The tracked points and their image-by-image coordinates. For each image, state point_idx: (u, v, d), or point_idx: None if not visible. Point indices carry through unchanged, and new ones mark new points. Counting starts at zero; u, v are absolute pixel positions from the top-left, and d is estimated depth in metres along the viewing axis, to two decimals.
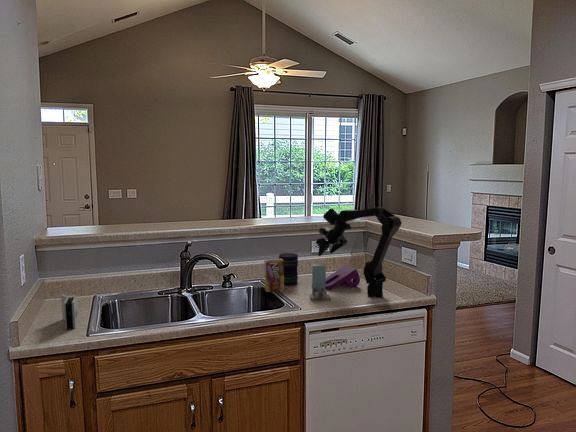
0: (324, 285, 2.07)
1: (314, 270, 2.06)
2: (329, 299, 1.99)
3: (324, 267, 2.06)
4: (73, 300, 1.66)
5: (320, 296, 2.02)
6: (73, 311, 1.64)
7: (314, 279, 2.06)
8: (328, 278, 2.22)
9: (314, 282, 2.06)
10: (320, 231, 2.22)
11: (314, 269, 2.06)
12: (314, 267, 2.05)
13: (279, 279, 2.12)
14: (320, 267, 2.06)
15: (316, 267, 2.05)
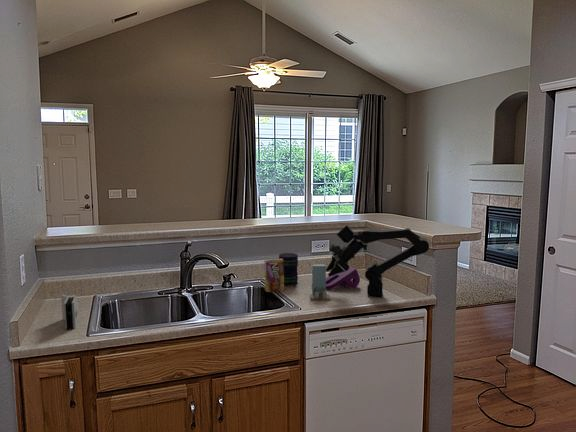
0: (324, 285, 2.07)
1: (314, 270, 2.06)
2: (329, 299, 1.99)
3: (324, 267, 2.06)
4: (73, 300, 1.66)
5: (320, 296, 2.02)
6: (73, 311, 1.64)
7: (314, 279, 2.06)
8: (328, 278, 2.22)
9: (314, 282, 2.06)
10: (335, 249, 2.02)
11: (314, 269, 2.06)
12: (314, 267, 2.05)
13: (279, 279, 2.12)
14: (320, 267, 2.06)
15: (316, 267, 2.05)
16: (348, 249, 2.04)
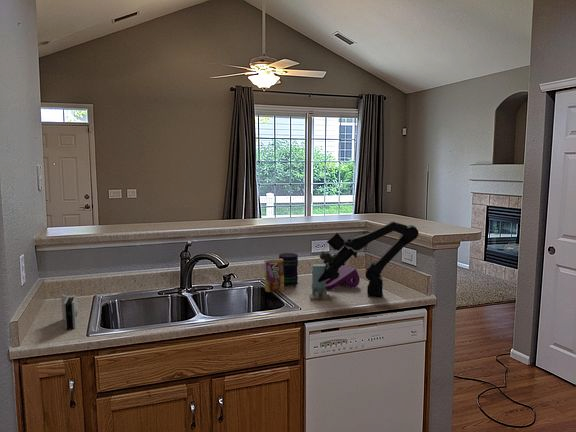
0: (324, 285, 2.07)
1: (314, 270, 2.06)
2: (329, 299, 1.99)
3: (324, 267, 2.06)
4: (73, 300, 1.66)
5: (320, 296, 2.02)
6: (73, 311, 1.64)
7: (314, 279, 2.06)
8: None
9: (314, 282, 2.06)
10: (326, 257, 2.02)
11: (314, 269, 2.06)
12: (314, 267, 2.05)
13: (279, 279, 2.12)
14: (320, 267, 2.06)
15: (316, 267, 2.05)
16: (338, 256, 2.04)
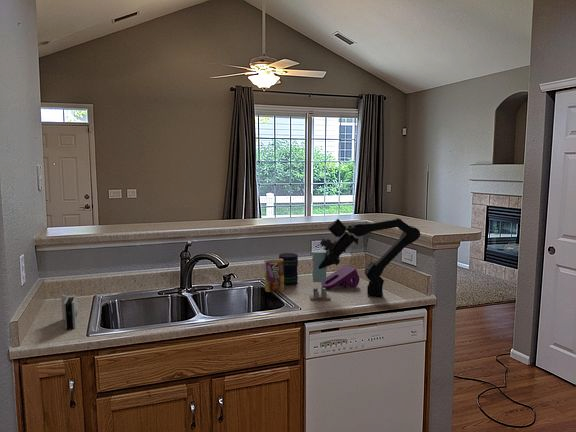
0: (325, 272, 2.04)
1: (314, 257, 2.03)
2: (329, 299, 1.99)
3: None
4: (73, 300, 1.66)
5: (320, 296, 2.02)
6: (73, 311, 1.64)
7: (314, 266, 2.03)
8: (328, 278, 2.22)
9: (314, 269, 2.03)
10: (326, 243, 1.99)
11: (314, 256, 2.03)
12: (314, 254, 2.03)
13: (279, 279, 2.12)
14: (320, 254, 2.03)
15: (316, 254, 2.03)
16: (339, 243, 2.01)
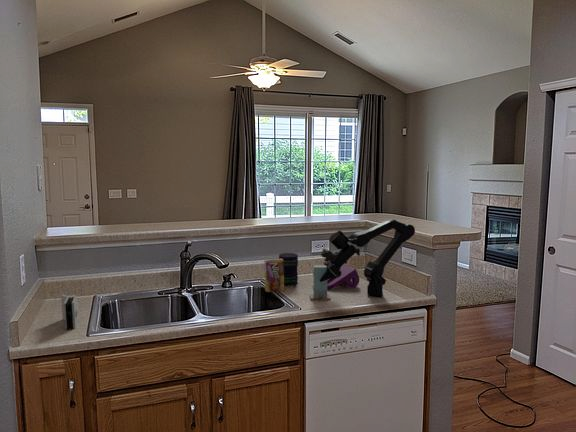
0: (326, 287, 2.00)
1: (315, 271, 1.99)
2: (329, 299, 1.99)
3: None
4: (73, 300, 1.66)
5: None
6: (73, 311, 1.64)
7: (315, 281, 1.99)
8: None
9: (315, 284, 1.99)
10: (327, 255, 1.95)
11: (315, 270, 1.99)
12: (315, 268, 1.99)
13: (279, 279, 2.12)
14: (321, 268, 1.99)
15: (317, 268, 1.99)
16: (340, 254, 1.97)
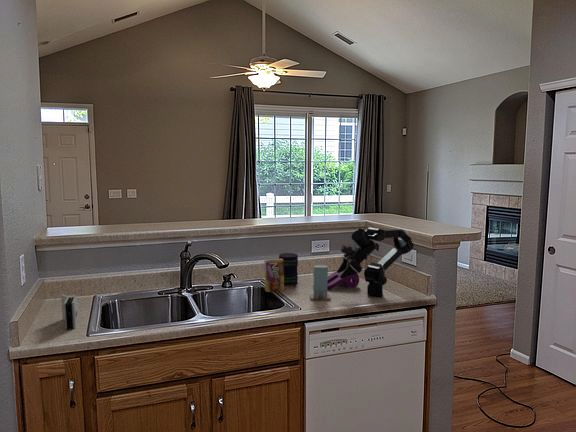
0: (326, 287, 2.00)
1: (315, 271, 1.99)
2: (329, 299, 1.99)
3: (326, 268, 1.99)
4: (73, 300, 1.66)
5: None
6: (73, 311, 1.64)
7: (315, 281, 1.99)
8: None
9: (315, 284, 1.99)
10: (347, 250, 1.95)
11: (315, 270, 1.99)
12: (315, 268, 1.99)
13: (279, 279, 2.12)
14: (322, 268, 1.99)
15: (318, 268, 1.99)
16: (360, 250, 1.98)
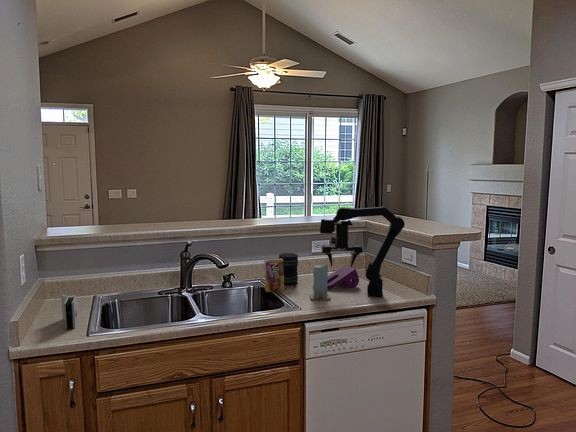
0: (326, 287, 2.00)
1: (315, 271, 1.99)
2: (329, 299, 1.99)
3: (326, 268, 1.99)
4: (73, 300, 1.66)
5: None
6: (73, 311, 1.64)
7: (315, 281, 1.99)
8: None
9: (315, 284, 1.99)
10: (331, 242, 2.12)
11: (315, 270, 1.99)
12: (315, 268, 1.99)
13: (279, 279, 2.12)
14: (322, 268, 1.99)
15: (318, 268, 1.99)
16: None
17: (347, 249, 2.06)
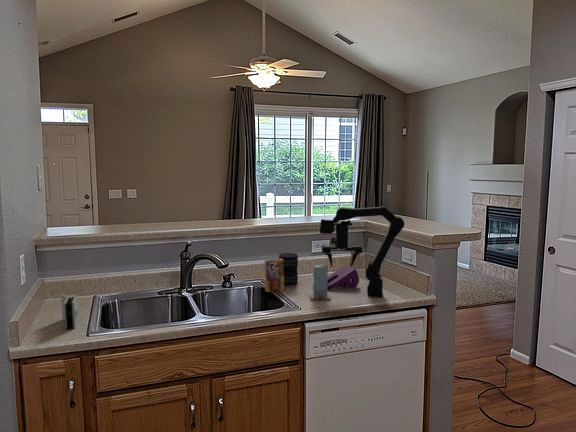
0: (326, 287, 2.00)
1: (315, 271, 1.99)
2: (329, 299, 1.99)
3: (326, 268, 1.99)
4: (73, 300, 1.66)
5: None
6: (73, 311, 1.64)
7: (315, 281, 1.99)
8: None
9: (315, 284, 1.99)
10: (331, 242, 2.12)
11: (315, 270, 1.99)
12: (315, 268, 1.99)
13: (279, 279, 2.12)
14: (322, 268, 1.99)
15: (318, 268, 1.99)
16: None
17: (347, 249, 2.06)
